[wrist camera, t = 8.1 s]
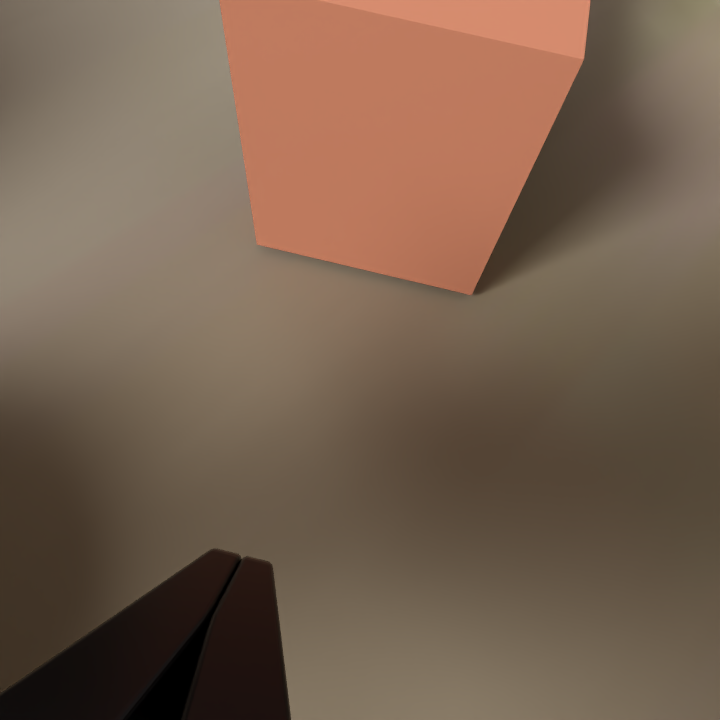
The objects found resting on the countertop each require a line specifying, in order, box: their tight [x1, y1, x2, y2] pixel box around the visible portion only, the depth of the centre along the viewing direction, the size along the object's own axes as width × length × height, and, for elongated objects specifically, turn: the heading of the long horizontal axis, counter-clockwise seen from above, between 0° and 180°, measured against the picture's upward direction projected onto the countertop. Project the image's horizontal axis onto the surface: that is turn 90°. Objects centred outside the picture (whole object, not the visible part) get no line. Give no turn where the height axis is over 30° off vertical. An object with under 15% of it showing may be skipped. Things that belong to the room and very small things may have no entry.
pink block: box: [219, 0, 590, 295], centre depth 17 cm, size 10×7×9 cm, turn 167°
